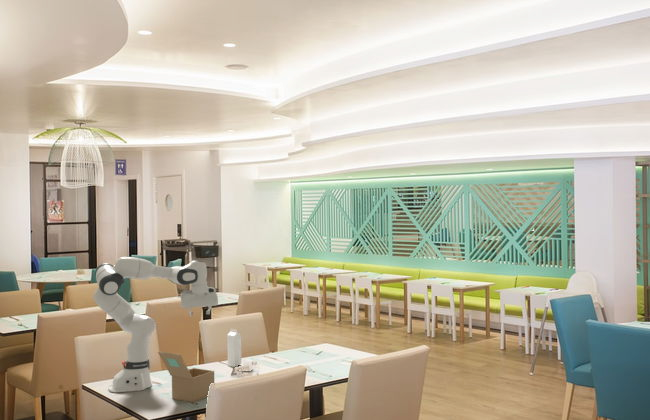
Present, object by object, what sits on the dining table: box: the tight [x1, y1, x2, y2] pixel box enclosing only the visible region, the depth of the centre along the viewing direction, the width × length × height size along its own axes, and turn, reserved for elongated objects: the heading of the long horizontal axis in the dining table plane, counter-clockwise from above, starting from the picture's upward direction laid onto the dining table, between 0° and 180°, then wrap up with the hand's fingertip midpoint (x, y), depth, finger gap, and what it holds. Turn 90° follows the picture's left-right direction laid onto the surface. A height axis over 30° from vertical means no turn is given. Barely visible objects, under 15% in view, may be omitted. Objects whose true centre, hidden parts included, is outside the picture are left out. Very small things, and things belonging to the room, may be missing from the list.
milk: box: [226, 328, 242, 368], centre depth 394 cm, size 6×6×22 cm
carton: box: [171, 367, 215, 403], centre depth 330 cm, size 16×14×12 cm
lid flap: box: [157, 350, 193, 379], centre depth 319 cm, size 16×14×1 cm
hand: (199, 314), depth 357 cm, fingers open, 8 cm apart
